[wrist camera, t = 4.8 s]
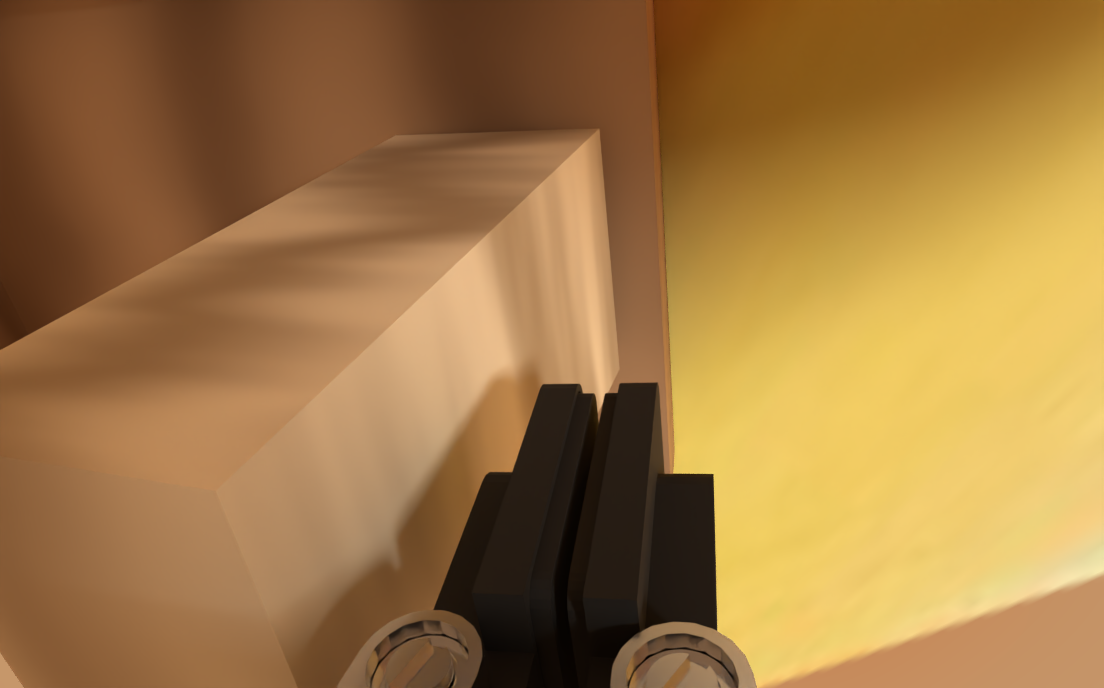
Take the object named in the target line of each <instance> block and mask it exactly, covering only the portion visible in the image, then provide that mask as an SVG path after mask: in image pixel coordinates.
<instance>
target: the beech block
mask: <svg viewBox="0 0 1104 688" xmlns="http://www.w3.org/2000/svg"><path fill="white" fill-rule="evenodd" d="M619 369H620V368H619V356H618V344H617V332H616V320H615V308H614V296H613V284H612V273H611V261H610V249H609V237H608V225H607V213H606V201H605V189H604V178H603V166H602V154H601V142H600V130H599V128H598V129H568V130H539V131H510V132H481V133H452V134H422V135H395V136H393V137H392V138H390V139H388V140H386V141H384V142H382V143H381V144H379V145H377V146H375V147H373V148H371V149H370V150H368V151H366V152H364V153H362V154H360V155H359V156H357V157H355V158H353V159H351V160H349V161H347V162H346V163H344V164H342V165H340V166H338V167H336V168H335V169H333V170H331V171H329V172H327V173H325V174H324V175H322V176H320V177H318V178H316V179H314V180H313V181H311V182H309V183H307V184H305V185H303V186H301V187H300V188H298V189H296V190H294V191H292V192H290V193H289V194H287V195H285V196H283V197H281V198H279V199H278V200H276V201H274V202H272V203H270V204H268V205H267V206H265V207H263V208H261V209H259V210H257V211H255V212H254V213H252V214H250V215H248V216H246V217H244V218H243V219H241V220H239V221H237V222H235V223H233V224H232V225H230V226H228V227H226V228H224V229H222V230H220V231H219V232H217V233H215V234H213V235H211V236H209V237H208V238H206V239H204V240H202V241H200V242H198V243H197V244H195V245H193V246H191V247H189V248H187V249H186V250H184V251H182V252H180V253H178V254H176V255H174V256H173V257H171V258H169V259H167V260H165V261H163V262H162V263H160V264H158V265H156V266H154V267H152V268H151V269H149V270H147V271H145V272H143V273H141V274H140V275H138V276H136V277H134V278H132V279H130V280H128V281H127V282H125V283H123V284H121V285H119V286H117V287H116V288H114V289H112V290H110V291H108V292H106V293H105V294H103V295H101V296H99V297H97V298H95V299H94V300H92V301H90V302H88V303H86V304H84V305H82V306H81V307H79V308H77V309H75V310H73V311H71V312H70V313H68V314H66V315H64V316H62V317H60V318H59V319H57V320H55V321H53V322H51V323H49V324H48V325H46V326H44V327H42V328H40V329H38V330H36V331H35V332H33V333H31V334H29V335H27V336H25V337H24V338H22V339H20V340H18V341H16V342H14V343H13V344H11V345H9V346H7V347H5V348H3V349H1V350H0V653H1V654H2V656H3V657H4V659H5V660H6V662H7V663H8V664H9V666H10V668H11V669H12V670H13V672H14V673H15V675H16V676H17V678H18V679H19V681H20V682H21V684H22V685H23V687H24V688H336V687H337V686H338V684H339V682H340V681H341V679H342V678H343V676H344V675H345V673H346V671H347V670H348V668H349V667H350V665H351V663H352V662H353V660H354V659H355V657H356V656H357V654H358V652H359V651H360V649H361V648H362V647H363V646H364V645H365V643H366V642H367V641H368V640H369V639H370V637H371V636H372V635H373V634H374V633H375V632H377V631H378V630H379V629H381V628H382V627H383V626H385V625H386V624H387V623H389V622H391V621H393V620H395V619H397V618H399V617H402V616H404V615H406V614H409V613H414V612H419V611H423V610H433V609H434V607H435V604H436V601H437V599H438V596H439V593H440V591H441V588H442V586H443V583H444V580H445V578H446V575H447V572H448V570H449V567H450V565H451V562H452V559H453V557H454V554H455V552H456V549H457V546H458V544H459V541H460V538H461V536H462V533H463V531H464V528H465V525H466V523H467V520H468V517H469V515H470V512H471V510H472V507H473V504H474V502H475V499H476V496H477V494H478V491H479V489H480V486H481V483H482V481H483V479H484V477H485V475H486V474H488V473H489V472H512V471H513V468H514V465H515V462H516V459H517V456H518V453H519V450H520V447H521V444H522V441H523V438H524V435H525V432H526V429H527V426H528V423H529V420H530V417H531V414H532V411H533V408H534V405H535V402H536V399H537V396H538V393H539V390H540V388H541V386H542V385H543V384H580V385H581V387H582V390H583V393H594V394H595V396H596V401H597V410H598V412H599V410H600V408H601V406H602V404H603V400H604V396H605V393H608V392H609V390H610V388H611V386H612V383H613V381H614V379H615V377H616V375H617V373H618V371H619Z"/></svg>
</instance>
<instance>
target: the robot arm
mask: <svg viewBox="0 0 1104 688" xmlns="http://www.w3.org/2000/svg"><path fill="white" fill-rule="evenodd" d="M336 688H757V686H756V682H755V678H754V674H753V672H752V670H751V667H750V665H749V663H748V660H747V658H746V656H745V655H744V654H743V652H742V651H741V650H740V649H739V648H738V647H737V646H736V645H735V643H734V642H733V641H732V640H730V639H729V638H727V637H726V636H724V635H722V634H721V633H719V632H718V631H717V600H716V557H715V517H714V479H713V474H665V472H664V456H663V441H662V425H661V410H660V394H659V385H658V382H651V383H620V384H619V388H618V393H605V396H604V400H603V405H602V410H601V415H600V420H599V419H598V410H597V401H596V396H595V394H594V393H583V390H582V387H581V385H580V384H543V385H542V386H541V388H540V390H539V393H538V396H537V399H536V402H535V405H534V408H533V411H532V414H531V417H530V420H529V423H528V426H527V429H526V432H525V435H524V438H523V441H522V444H521V447H520V450H519V453H518V456H517V459H516V462H515V465H514V468H513V471H512V472H489V473H488V474H486V475H485V477H484V479H483V481H482V483H481V486H480V489H479V491H478V494H477V496H476V499H475V502H474V504H473V507H472V510H471V512H470V515H469V517H468V520H467V523H466V525H465V528H464V531H463V533H462V536H461V538H460V541H459V544H458V546H457V549H456V552H455V554H454V557H453V559H452V562H451V565H450V567H449V570H448V572H447V575H446V578H445V580H444V583H443V586H442V588H441V591H440V593H439V596H438V599H437V601H436V604H435V607H434V609H433V610H423V611H419V612H414V613H409V614H406V615H404V616H402V617H399V618H397V619H395V620H393V621H391V622H389V623H387V624H386V625H385V626H383V627H382V628H381V629H379V630H378V631H377V632H375V633H374V634H373V635H372V636H371V637H370V639H369V640H368V641H367V642H366V643H365V645H364V646H363V647H362V648H361V649H360V651H359V652H358V654H357V656H356V657H355V659H354V660H353V662H352V663H351V665H350V667H349V668H348V670H347V671H346V673H345V675H344V676H343V678H342V679H341V681H340V682H339V684H338V686H337V687H336Z"/></svg>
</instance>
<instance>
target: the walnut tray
mask: <svg viewBox="0 0 1104 688" xmlns="http://www.w3.org/2000/svg"><path fill="white" fill-rule="evenodd" d="M598 128H599V130H600V142H601V154H602V166H603V178H604V189H605V201H606V213H607V225H608V237H609V249H610V261H611V273H612V284H613V296H614V308H615V320H616V332H617V344H618V356H619V368H620V369H619V371H618V373H617V375H616V377H615V379H614V381H613V383H612V386H611V388H610V390H609V392H608V393H618V388H619V384H620V383H651V382H658V385H659V394H660V410H661V425H662V441H663V456H664V472H665V474H673V467H674V429H673V408H672V386H671V365H670V344H669V322H668V301H667V279H666V258H665V237H664V215H663V194H662V173H661V151H660V130H659V108H658V87H657V66H656V44H655V23H654V2H653V0H0V350H1V349H3V348H5V347H7V346H9V345H11V344H13V343H14V342H16V341H18V340H20V339H22V338H24V337H25V336H27V335H29V334H31V333H33V332H35V331H36V330H38V329H40V328H42V327H44V326H46V325H48V324H49V323H51V322H53V321H55V320H57V319H59V318H60V317H62V316H64V315H66V314H68V313H70V312H71V311H73V310H75V309H77V308H79V307H81V306H82V305H84V304H86V303H88V302H90V301H92V300H94V299H95V298H97V297H99V296H101V295H103V294H105V293H106V292H108V291H110V290H112V289H114V288H116V287H117V286H119V285H121V284H123V283H125V282H127V281H128V280H130V279H132V278H134V277H136V276H138V275H140V274H141V273H143V272H145V271H147V270H149V269H151V268H152V267H154V266H156V265H158V264H160V263H162V262H163V261H165V260H167V259H169V258H171V257H173V256H174V255H176V254H178V253H180V252H182V251H184V250H186V249H187V248H189V247H191V246H193V245H195V244H197V243H198V242H200V241H202V240H204V239H206V238H208V237H209V236H211V235H213V234H215V233H217V232H219V231H220V230H222V229H224V228H226V227H228V226H230V225H232V224H233V223H235V222H237V221H239V220H241V219H243V218H244V217H246V216H248V215H250V214H252V213H254V212H255V211H257V210H259V209H261V208H263V207H265V206H267V205H268V204H270V203H272V202H274V201H276V200H278V199H279V198H281V197H283V196H285V195H287V194H289V193H290V192H292V191H294V190H296V189H298V188H300V187H301V186H303V185H305V184H307V183H309V182H311V181H313V180H314V179H316V178H318V177H320V176H322V175H324V174H325V173H327V172H329V171H331V170H333V169H335V168H336V167H338V166H340V165H342V164H344V163H346V162H347V161H349V160H351V159H353V158H355V157H357V156H359V155H360V154H362V153H364V152H366V151H368V150H370V149H371V148H373V147H375V146H377V145H379V144H381V143H382V142H384V141H386V140H388V139H390V138H392V137H393V136H395V135H422V134H452V133H481V132H510V131H539V130H568V129H598ZM602 405H603V404H602ZM601 410H602V406H601V408H600V410H599V412H598V419H599V420H600V415H601Z"/></svg>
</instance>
